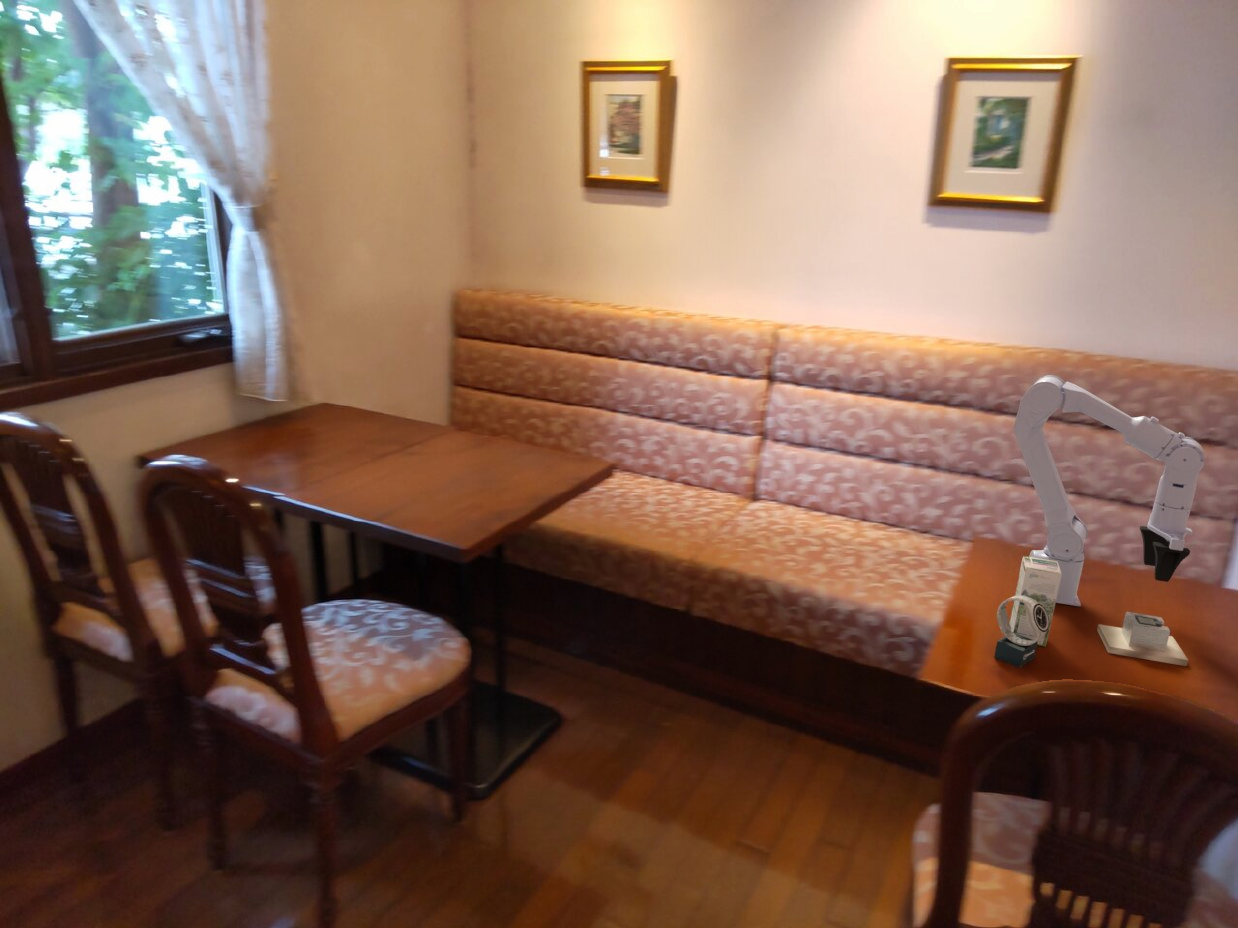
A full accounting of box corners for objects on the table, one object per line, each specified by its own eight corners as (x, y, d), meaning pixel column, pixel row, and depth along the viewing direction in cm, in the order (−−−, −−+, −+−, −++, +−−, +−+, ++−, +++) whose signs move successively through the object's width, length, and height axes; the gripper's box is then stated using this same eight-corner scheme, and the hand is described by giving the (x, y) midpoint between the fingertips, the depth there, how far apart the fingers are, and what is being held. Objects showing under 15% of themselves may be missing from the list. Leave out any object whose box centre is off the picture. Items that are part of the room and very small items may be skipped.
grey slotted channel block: (1128, 645, 148) (1133, 624, 147) (1121, 631, 153) (1126, 611, 152) (1164, 651, 147) (1170, 631, 146) (1156, 637, 152) (1161, 617, 151)
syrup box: (1042, 633, 154) (1057, 559, 150) (1046, 648, 149) (1062, 571, 144) (1008, 627, 156) (1022, 553, 152) (1011, 641, 150) (1026, 565, 146)
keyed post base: (1108, 652, 148) (1114, 625, 147) (1097, 630, 156) (1103, 604, 155) (1186, 666, 145) (1193, 638, 143) (1171, 642, 153) (1177, 616, 151)
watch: (1030, 672, 140) (1043, 612, 137) (984, 653, 146) (995, 594, 143) (1046, 662, 144) (1058, 603, 140) (999, 643, 149) (1011, 586, 146)
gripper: (1211, 520, 148) (1192, 591, 152) (1185, 495, 161) (1168, 561, 165) (1165, 514, 150) (1147, 584, 154) (1143, 490, 163) (1128, 556, 167)
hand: (1155, 572), depth 160 cm, fingers open, 7 cm apart
